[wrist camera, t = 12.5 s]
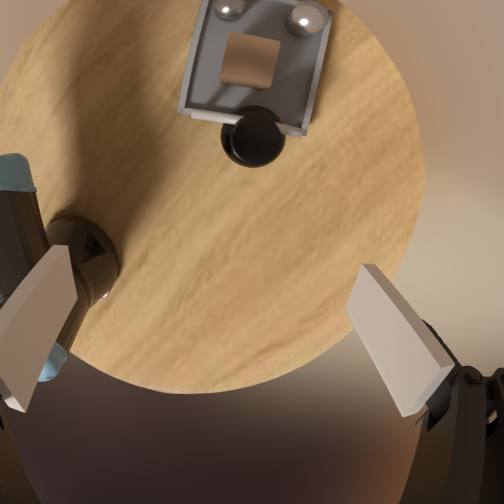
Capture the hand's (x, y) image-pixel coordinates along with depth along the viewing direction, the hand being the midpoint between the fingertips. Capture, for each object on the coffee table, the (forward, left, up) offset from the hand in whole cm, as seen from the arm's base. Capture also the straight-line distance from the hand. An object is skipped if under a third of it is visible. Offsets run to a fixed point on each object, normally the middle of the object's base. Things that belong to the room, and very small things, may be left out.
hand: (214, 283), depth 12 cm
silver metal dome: (-3, +20, -27) cm, 34 cm away
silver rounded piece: (+6, +20, -27) cm, 34 cm away
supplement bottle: (+3, +5, -29) cm, 29 cm away
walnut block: (+1, +13, -27) cm, 30 cm away
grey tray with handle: (+2, +15, -29) cm, 33 cm away
